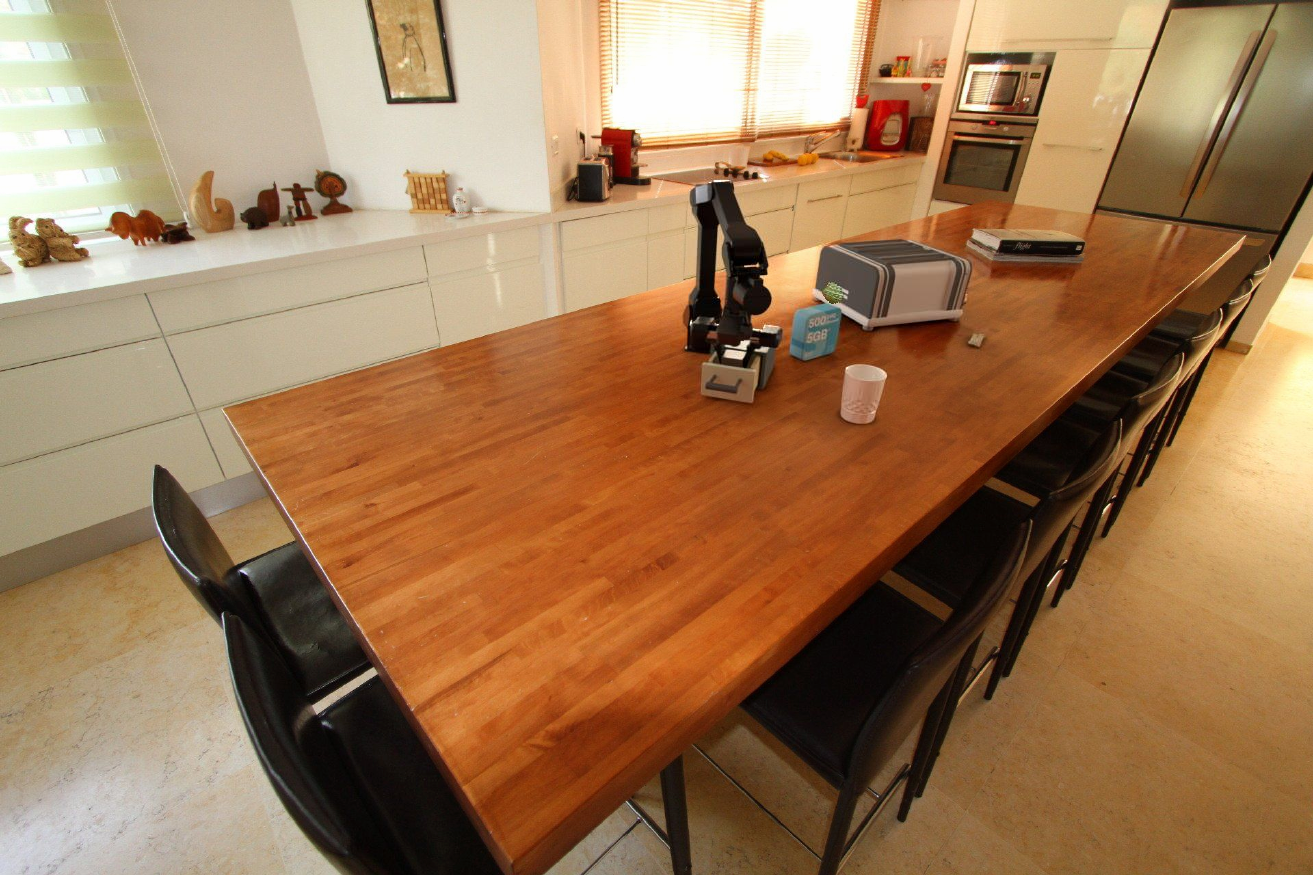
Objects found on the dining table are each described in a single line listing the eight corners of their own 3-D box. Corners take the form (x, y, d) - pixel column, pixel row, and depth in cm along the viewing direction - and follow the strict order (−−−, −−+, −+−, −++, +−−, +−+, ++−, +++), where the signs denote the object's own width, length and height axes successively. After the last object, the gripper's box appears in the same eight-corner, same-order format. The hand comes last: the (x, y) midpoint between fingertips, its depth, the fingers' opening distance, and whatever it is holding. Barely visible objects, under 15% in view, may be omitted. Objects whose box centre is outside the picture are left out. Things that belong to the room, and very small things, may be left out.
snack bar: (980, 346, 153) (969, 340, 154) (976, 351, 154) (965, 345, 155) (986, 334, 160) (976, 329, 161) (982, 339, 161) (972, 333, 162)
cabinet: (762, 390, 132) (766, 352, 128) (708, 381, 136) (711, 345, 131) (773, 366, 143) (777, 331, 139) (723, 359, 147) (726, 325, 142)
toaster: (971, 320, 172) (990, 258, 163) (865, 332, 164) (878, 267, 154) (905, 290, 198) (917, 234, 188) (810, 298, 189) (818, 241, 180)
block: (725, 368, 131) (726, 349, 129) (745, 371, 130) (747, 352, 128) (720, 376, 128) (721, 356, 125) (740, 379, 126) (742, 359, 124)
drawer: (745, 415, 120) (748, 383, 117) (692, 406, 124) (694, 375, 120) (763, 379, 135) (766, 350, 131) (715, 372, 138) (717, 343, 135)
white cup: (856, 429, 118) (865, 383, 112) (829, 412, 124) (836, 368, 118) (885, 420, 121) (895, 376, 116) (857, 404, 127) (866, 361, 122)
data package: (801, 362, 146) (807, 315, 140) (788, 356, 149) (794, 310, 143) (835, 352, 151) (843, 307, 145) (822, 346, 155) (829, 302, 148)
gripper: (683, 305, 117) (680, 377, 125) (777, 317, 111) (768, 391, 119) (699, 289, 126) (696, 357, 134) (787, 299, 120) (778, 370, 128)
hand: (733, 369), depth 128 cm, fingers closed on block, 4 cm apart
